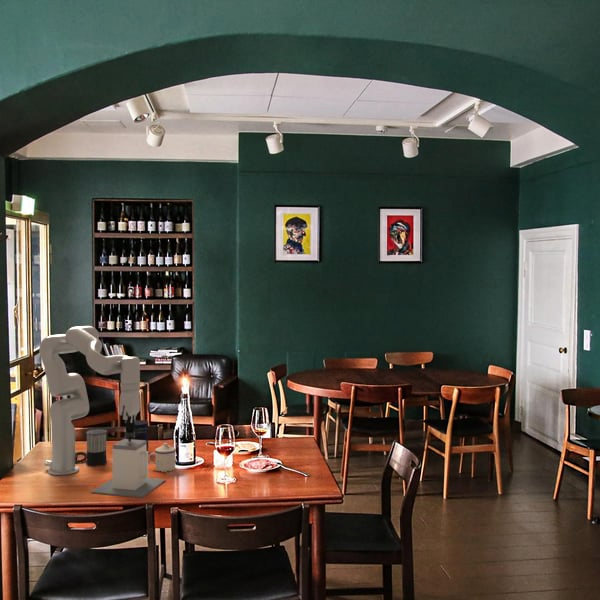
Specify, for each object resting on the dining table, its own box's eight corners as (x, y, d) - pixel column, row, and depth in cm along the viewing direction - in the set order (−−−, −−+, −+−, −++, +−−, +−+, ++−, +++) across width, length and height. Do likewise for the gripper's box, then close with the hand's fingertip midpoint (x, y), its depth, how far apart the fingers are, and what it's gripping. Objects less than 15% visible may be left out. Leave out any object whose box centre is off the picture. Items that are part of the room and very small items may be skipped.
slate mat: (91, 493, 260) (91, 491, 260) (117, 476, 281) (117, 475, 281) (142, 497, 255) (142, 496, 255) (165, 480, 277) (165, 479, 277)
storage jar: (141, 456, 313) (141, 425, 312) (123, 454, 316) (123, 423, 315) (152, 451, 322) (152, 421, 322) (134, 449, 325) (135, 419, 325)
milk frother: (107, 465, 297) (108, 433, 297) (71, 468, 292) (71, 435, 291) (105, 457, 311) (105, 426, 310) (69, 460, 305) (70, 428, 304)
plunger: (122, 477, 266) (123, 432, 266) (127, 474, 270) (127, 430, 270) (131, 478, 266) (132, 433, 265) (136, 475, 270) (136, 431, 269)
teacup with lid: (177, 466, 298) (177, 441, 297) (173, 472, 288) (173, 446, 288) (151, 465, 298) (151, 440, 297) (146, 471, 289) (146, 445, 288)
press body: (112, 488, 264) (112, 444, 264) (123, 480, 274) (124, 438, 273) (141, 490, 262) (142, 447, 261) (152, 483, 272) (152, 440, 271)
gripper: (130, 383, 275) (130, 427, 275) (113, 389, 260) (113, 435, 261) (146, 384, 273) (146, 428, 274) (130, 390, 259) (130, 436, 259)
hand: (130, 431), depth 267 cm, fingers closed
